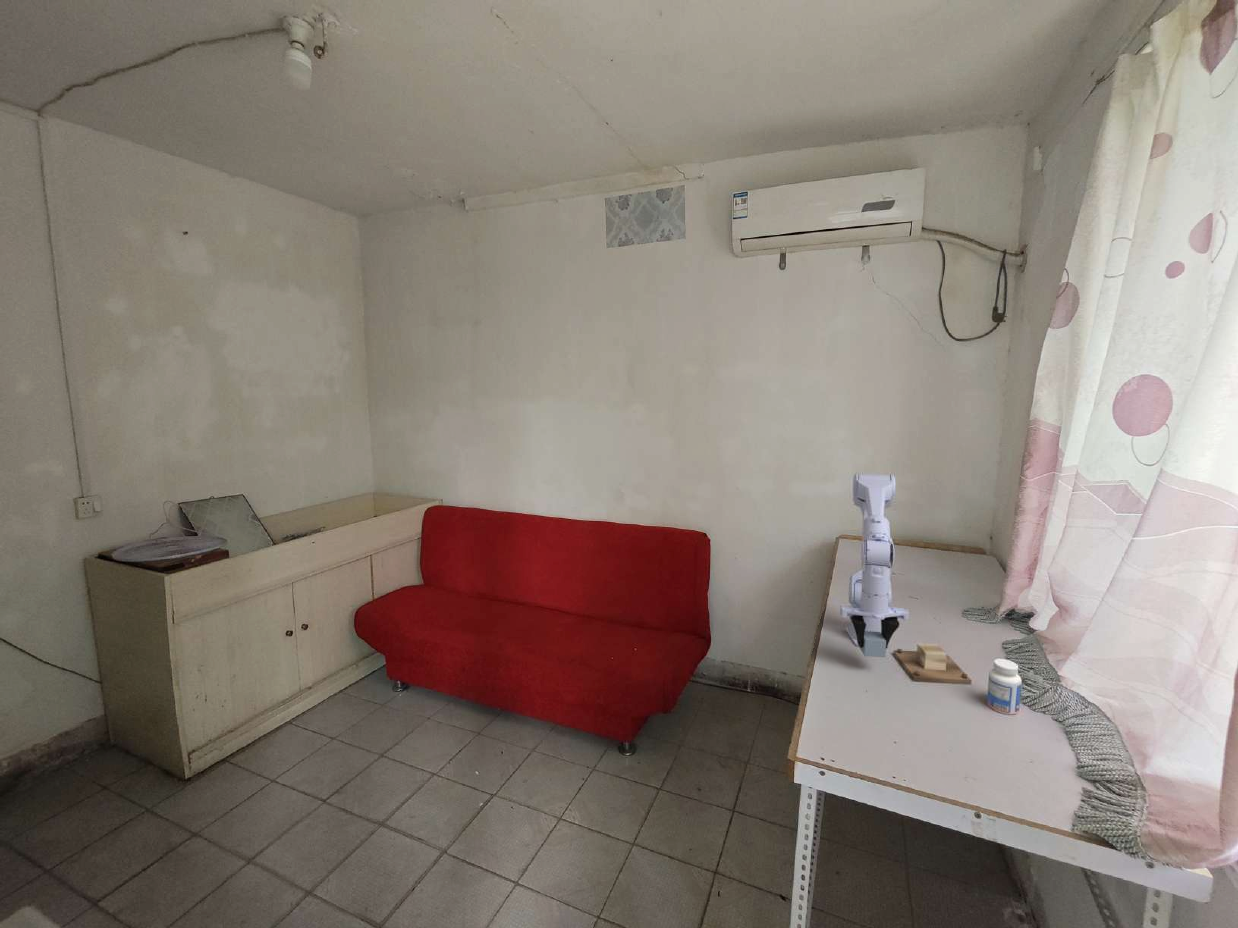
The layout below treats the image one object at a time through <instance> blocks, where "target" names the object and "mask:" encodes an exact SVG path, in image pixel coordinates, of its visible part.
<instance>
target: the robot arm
mask: <svg viewBox="0 0 1238 928" xmlns="http://www.w3.org/2000/svg"><path fill="white" fill-rule="evenodd" d="M852 482H853V483H852V494H853V495H852V502H853V505H855V506H856V507H858V508H860V511H861V514H862V529H861V531H862V536H861V537H862V539H861V549H860V550H861V551H860V558H861V567H860V569H858V570H857V571H855V572H853V573H852V574H851V575H850V577H849V583H848V603H849V604H850V605H845V606H843V605H842V606H840V607H839V615H840V616H841V618H847V617H849V623H848V624H849V625H848V627H847V626H846V627H845V631H846V632H847V634H848V635H849V638H850V639H851V640H852V642H853V643H854V645H855V646H858V648H859V647H860V648H863V646H864V632H865V631H872V632H880V633H881V635H882V636H883V637H884V639H885V640H886V649H888V648H889V643H890V640H891V639H892V636H893V635H894V633H895V632H896V631H897V630H898V629H899V627H900V622H899V619H901V620H904V621H909V618H910V612H909V610H908V609H906V608H901V607H894V606H892V595H893V593H892V582H891V569H892V568H893V565H894V562H895V546H894V541H893V538H891V527H890V525H891V524H890V523H891V522H890V521H889V520H888V518H886V517H885V516H884V515H885V510H886V509H889V508H891V506H892V504H893V502H894V497H895V495H896V477H895V475H894V474H891V473H890V474H880V473H879V474H876V473H859V472H856V473H854V475H853V481H852ZM860 648H859V649H860Z"/></svg>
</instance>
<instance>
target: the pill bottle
mask: <svg viewBox="0 0 1238 928" xmlns="http://www.w3.org/2000/svg"><path fill="white" fill-rule="evenodd" d="M1018 673H1019V666H1018V664H1017V663H1016V662H1013V661H1012V660H1009V659H1006V658H996V659H995V660H994V661H993V668H992V669H990V670H989V673H988V682H987V696H986V703H987V705H988V706H989V707H990V708H991V709H993V710H994V711H996V712H998V713H1001V714H1004V715H1017V714H1018V713H1019V712H1020V705H1021V695H1022V682H1023V680H1022V678H1021V676H1020V675H1019V674H1018Z"/></svg>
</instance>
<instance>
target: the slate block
mask: <svg viewBox="0 0 1238 928" xmlns="http://www.w3.org/2000/svg"><path fill="white" fill-rule="evenodd" d="M858 648H859V649H860V651H861V653H862V655H863V656H864V657H870V658H871V657H872V658H886V652H887V651H886V640H885V639H884V637H883V636H882V635H881V633H880V632H872V631H865V632H864V646H863V648H860V647H859V646H858Z"/></svg>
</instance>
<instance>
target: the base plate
mask: <svg viewBox="0 0 1238 928" xmlns="http://www.w3.org/2000/svg"><path fill="white" fill-rule="evenodd" d="M943 651H944V652H945V653H946V654H947V652H946V651H945V650H943ZM892 652H893V655H894V657H895V659H896V660H897V661H898V663H900V665H901V666H902V668H903V669H904V671H906V672H907V674H908V675H909V677H910V678H911V679H912V681H913V682H922V683H938V684H939V683H941V684H957V685H959V684H960V685H972V681H973V680H972V678H970V677H969V675H968V674H966V673H965V671H963V669H962V668H960V667H959V665H958V664H957V663H956V662H955V661H954V660H953V659H952V658H951V657H950V656H949V655H948V654H947V658H946V670H930V669H924V668H923V667H922V665H921V664H920V663H919V662H918V660H917V659H916V656H917V650H916V651H915V650H902V649H901V648H897V650H895V649H893V651H892Z"/></svg>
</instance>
